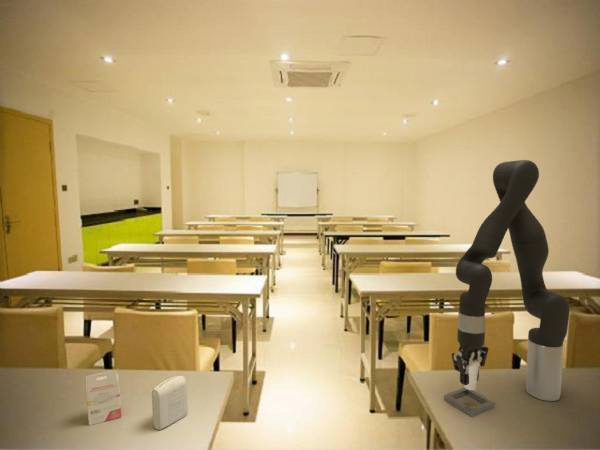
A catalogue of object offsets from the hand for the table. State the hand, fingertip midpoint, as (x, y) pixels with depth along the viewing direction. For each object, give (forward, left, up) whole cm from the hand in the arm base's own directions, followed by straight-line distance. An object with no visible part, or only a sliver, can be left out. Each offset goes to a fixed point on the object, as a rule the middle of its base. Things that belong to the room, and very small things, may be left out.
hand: (469, 381), depth 114 cm
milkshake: (0, 0, -2) cm, 2 cm away
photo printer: (+82, -35, -7) cm, 90 cm away
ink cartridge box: (+99, -46, -7) cm, 109 cm away
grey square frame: (0, 0, -7) cm, 7 cm away
